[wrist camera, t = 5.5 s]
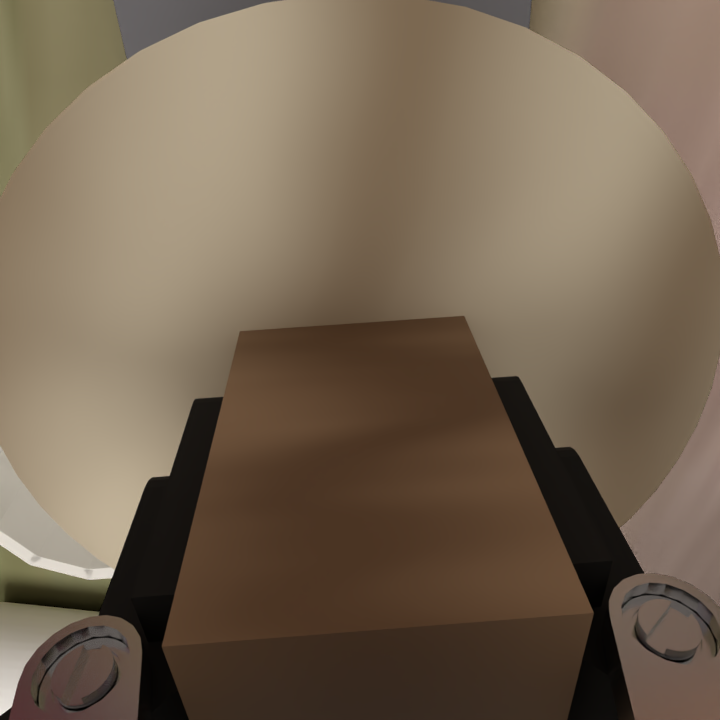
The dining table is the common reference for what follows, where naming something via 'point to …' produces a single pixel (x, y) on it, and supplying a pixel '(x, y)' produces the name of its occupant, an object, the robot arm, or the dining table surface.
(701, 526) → the dining table surface
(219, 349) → the lid
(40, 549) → the bowl
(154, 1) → the mat
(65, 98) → the dining table surface
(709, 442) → the dining table surface
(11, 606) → the mug
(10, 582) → the dining table surface
